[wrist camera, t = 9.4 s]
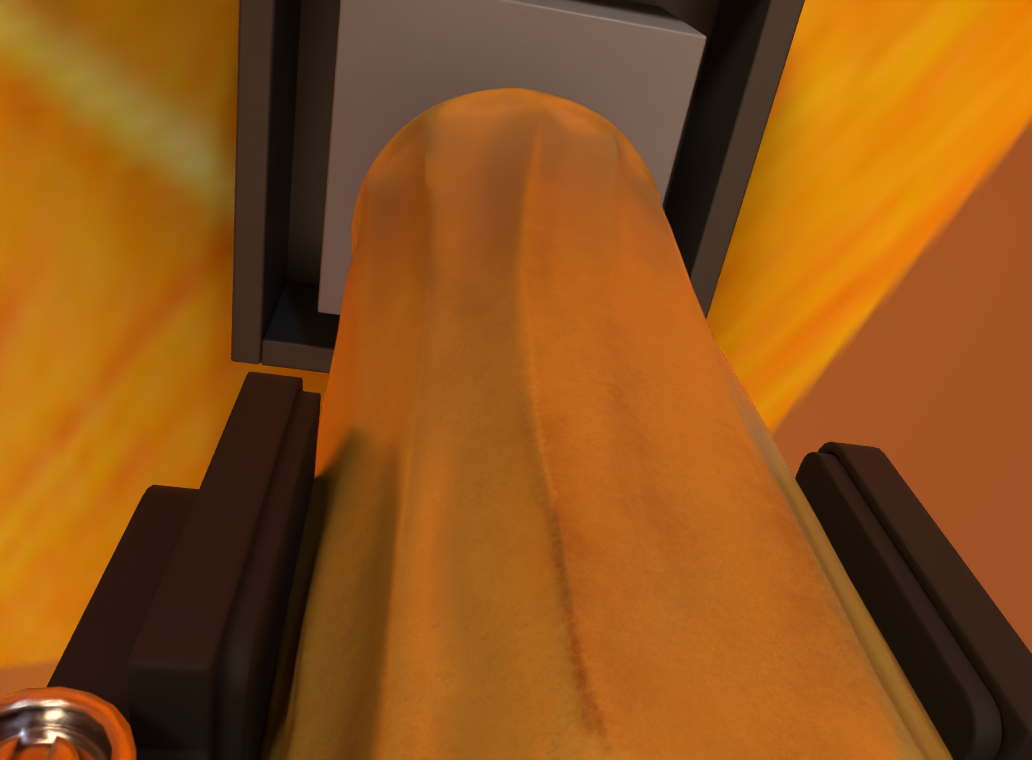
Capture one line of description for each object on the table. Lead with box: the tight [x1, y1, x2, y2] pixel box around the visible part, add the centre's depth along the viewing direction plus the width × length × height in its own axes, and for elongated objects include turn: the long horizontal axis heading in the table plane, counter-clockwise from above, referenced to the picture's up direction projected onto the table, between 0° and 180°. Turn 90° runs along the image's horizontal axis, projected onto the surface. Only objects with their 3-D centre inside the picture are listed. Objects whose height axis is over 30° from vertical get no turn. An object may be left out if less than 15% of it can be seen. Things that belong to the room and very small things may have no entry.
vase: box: [256, 88, 953, 760], centre depth 12 cm, size 6×6×14 cm
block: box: [318, 0, 707, 315], centre depth 23 cm, size 8×8×5 cm
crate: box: [231, 0, 805, 373], centre depth 24 cm, size 13×13×4 cm
